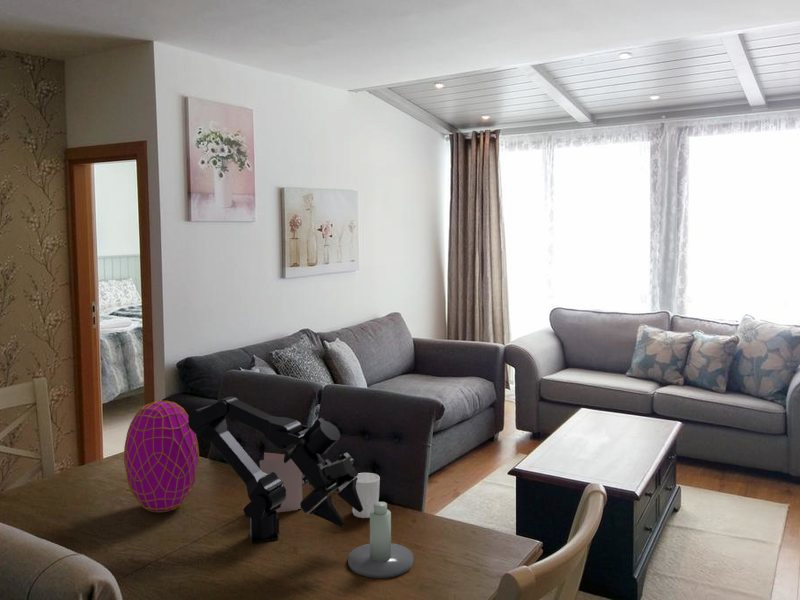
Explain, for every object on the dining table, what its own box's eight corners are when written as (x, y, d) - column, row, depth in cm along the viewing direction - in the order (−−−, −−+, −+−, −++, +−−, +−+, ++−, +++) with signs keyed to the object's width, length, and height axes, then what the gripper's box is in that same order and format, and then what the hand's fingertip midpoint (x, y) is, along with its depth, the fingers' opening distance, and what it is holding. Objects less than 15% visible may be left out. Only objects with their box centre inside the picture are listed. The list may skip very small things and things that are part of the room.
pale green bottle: (368, 561, 153) (368, 508, 152) (371, 551, 157) (371, 499, 156) (389, 562, 152) (389, 508, 151) (391, 552, 157) (391, 500, 156)
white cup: (375, 520, 178) (375, 483, 177) (347, 517, 180) (347, 481, 179) (382, 508, 186) (382, 473, 185) (355, 506, 187) (354, 471, 186)
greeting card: (303, 508, 186) (303, 455, 185) (292, 518, 179) (291, 463, 178) (266, 503, 189) (265, 451, 188) (253, 513, 182) (252, 459, 181)
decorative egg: (109, 517, 180) (105, 406, 177) (160, 492, 198) (157, 391, 195) (166, 528, 173) (163, 414, 170) (214, 501, 191) (212, 397, 188)
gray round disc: (357, 582, 145) (357, 577, 145) (341, 552, 160) (341, 547, 160) (422, 572, 150) (422, 566, 150) (401, 543, 164) (401, 538, 164)
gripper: (311, 456, 149) (355, 513, 146) (351, 435, 166) (391, 485, 163) (282, 485, 153) (324, 541, 150) (324, 461, 170) (362, 511, 167)
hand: (352, 518), depth 157 cm, fingers open, 9 cm apart
